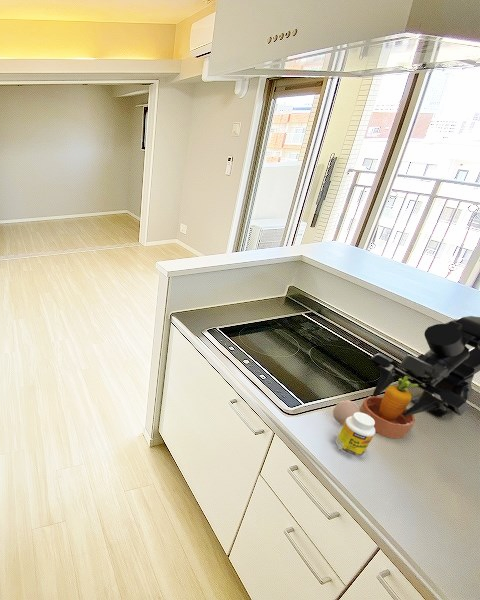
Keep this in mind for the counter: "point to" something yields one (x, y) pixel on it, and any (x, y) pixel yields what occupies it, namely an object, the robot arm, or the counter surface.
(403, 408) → the carrot
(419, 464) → the counter surface
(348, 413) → the egg
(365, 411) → the bowl
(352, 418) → the supplement bottle
